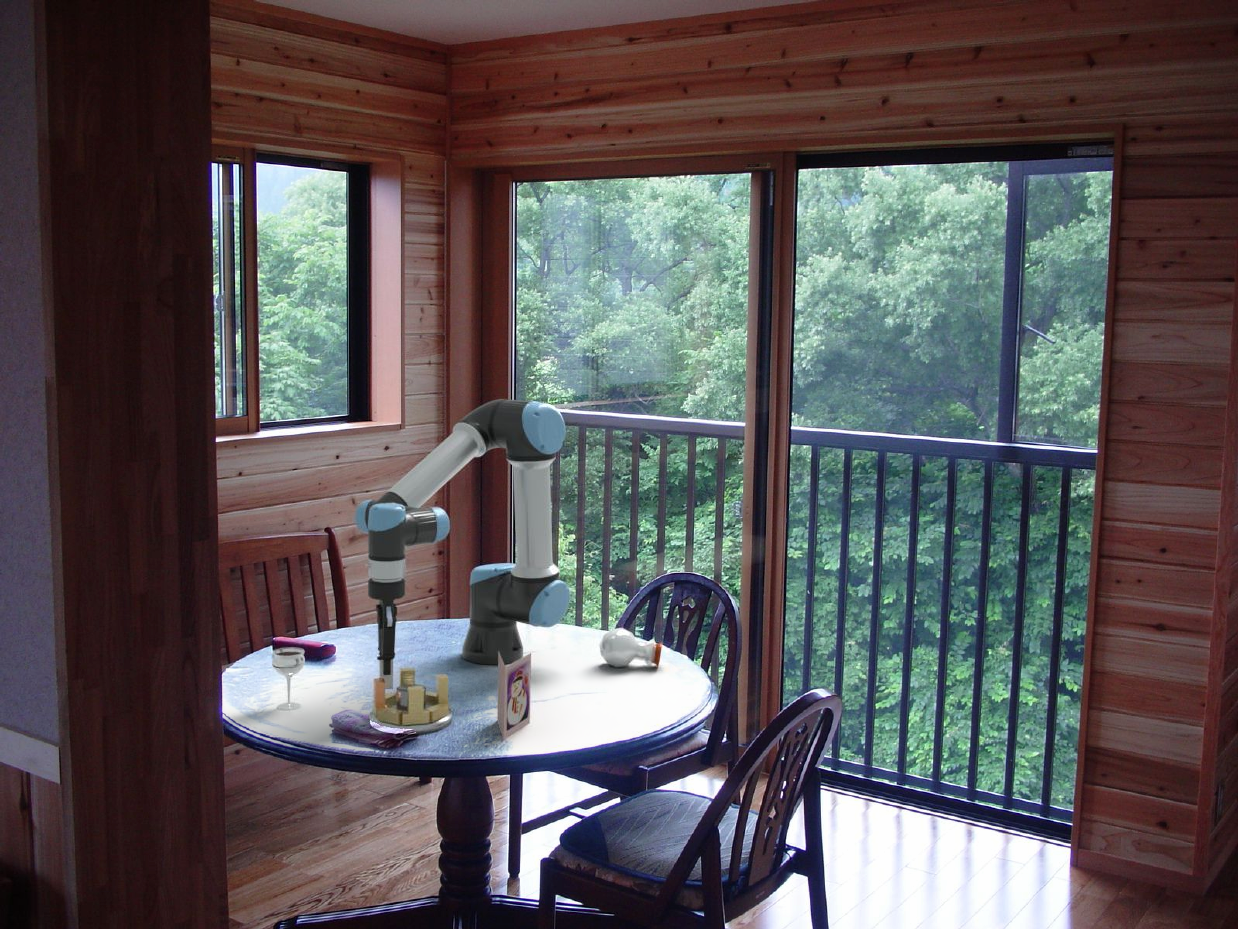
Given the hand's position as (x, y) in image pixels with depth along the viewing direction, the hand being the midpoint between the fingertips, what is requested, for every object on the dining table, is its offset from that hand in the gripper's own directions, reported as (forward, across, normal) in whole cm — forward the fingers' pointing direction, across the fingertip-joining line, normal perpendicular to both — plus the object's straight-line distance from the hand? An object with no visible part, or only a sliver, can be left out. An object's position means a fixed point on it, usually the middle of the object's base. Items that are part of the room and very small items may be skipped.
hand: (386, 688), depth 251 cm
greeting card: (+6, +14, +23) cm, 27 cm away
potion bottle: (+6, -23, +62) cm, 66 cm away
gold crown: (+4, +5, +5) cm, 8 cm away
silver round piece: (+6, +5, +5) cm, 9 cm away
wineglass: (+6, -10, -19) cm, 23 cm away
